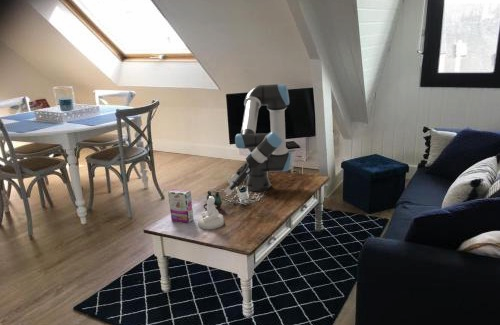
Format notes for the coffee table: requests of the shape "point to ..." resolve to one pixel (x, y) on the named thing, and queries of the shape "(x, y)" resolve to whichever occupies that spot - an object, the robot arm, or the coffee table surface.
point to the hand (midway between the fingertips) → (227, 188)
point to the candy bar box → (180, 205)
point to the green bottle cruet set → (217, 200)
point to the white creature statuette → (210, 210)
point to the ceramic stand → (211, 222)
